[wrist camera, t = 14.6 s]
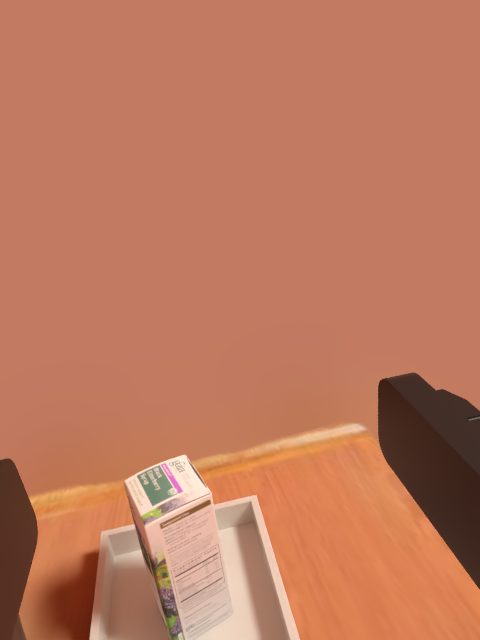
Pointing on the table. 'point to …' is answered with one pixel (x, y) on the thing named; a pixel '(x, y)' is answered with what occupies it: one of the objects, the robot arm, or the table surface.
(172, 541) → the syrup box
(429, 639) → the table surface
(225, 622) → the tray
